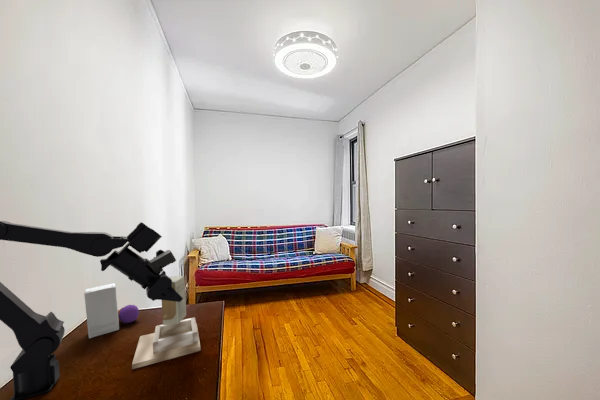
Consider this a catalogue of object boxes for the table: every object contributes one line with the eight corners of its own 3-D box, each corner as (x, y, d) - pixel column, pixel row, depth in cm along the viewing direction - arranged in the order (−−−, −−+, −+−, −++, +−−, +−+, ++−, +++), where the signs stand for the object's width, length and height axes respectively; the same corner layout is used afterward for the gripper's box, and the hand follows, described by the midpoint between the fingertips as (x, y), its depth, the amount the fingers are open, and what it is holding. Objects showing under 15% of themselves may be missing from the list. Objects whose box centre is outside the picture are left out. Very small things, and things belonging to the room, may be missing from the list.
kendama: (114, 300, 104) (143, 304, 95) (112, 316, 103) (141, 321, 93) (97, 303, 99) (125, 306, 90) (95, 320, 98) (123, 325, 88)
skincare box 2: (172, 316, 80) (171, 276, 80) (186, 315, 80) (185, 275, 80) (161, 326, 73) (159, 282, 74) (177, 325, 73) (175, 281, 74)
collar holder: (132, 369, 65) (131, 352, 65) (140, 340, 80) (139, 326, 80) (200, 350, 72) (199, 335, 72) (196, 326, 86) (196, 314, 86)
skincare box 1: (119, 324, 91) (116, 281, 92) (119, 330, 87) (116, 286, 87) (88, 332, 87) (85, 287, 87) (86, 339, 82) (84, 292, 82)
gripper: (160, 245, 67) (206, 280, 73) (152, 239, 82) (191, 268, 88) (125, 283, 62) (177, 316, 69) (123, 269, 78) (166, 297, 84)
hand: (178, 296), depth 77 cm, fingers closed on skincare box 2, 7 cm apart
